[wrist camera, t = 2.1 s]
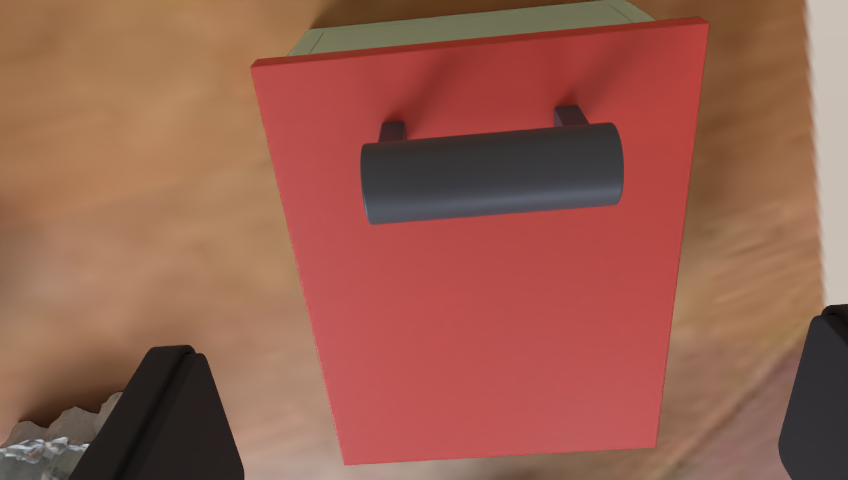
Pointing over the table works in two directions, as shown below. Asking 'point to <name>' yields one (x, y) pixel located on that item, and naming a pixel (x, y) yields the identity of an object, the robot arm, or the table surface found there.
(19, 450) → the egg carton
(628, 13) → the storage box
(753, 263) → the table surface
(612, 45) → the lid
